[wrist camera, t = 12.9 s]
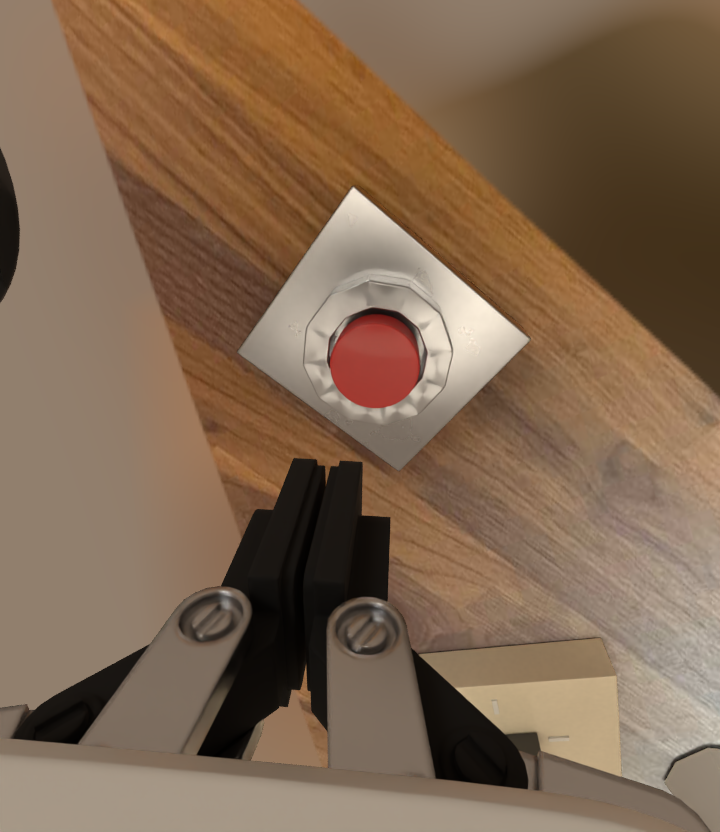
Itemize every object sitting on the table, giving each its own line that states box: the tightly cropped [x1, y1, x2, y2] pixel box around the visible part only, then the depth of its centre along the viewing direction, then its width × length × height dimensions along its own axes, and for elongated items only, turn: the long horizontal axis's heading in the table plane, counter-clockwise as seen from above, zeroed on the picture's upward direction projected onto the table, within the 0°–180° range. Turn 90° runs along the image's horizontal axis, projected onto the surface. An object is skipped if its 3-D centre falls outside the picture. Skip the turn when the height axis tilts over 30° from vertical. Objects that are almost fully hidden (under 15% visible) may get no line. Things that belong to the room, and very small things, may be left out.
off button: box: [330, 314, 420, 408], centre depth 22 cm, size 4×4×2 cm
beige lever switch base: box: [418, 638, 622, 777], centre depth 37 cm, size 16×12×3 cm
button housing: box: [237, 185, 531, 471], centre depth 25 cm, size 11×10×4 cm
